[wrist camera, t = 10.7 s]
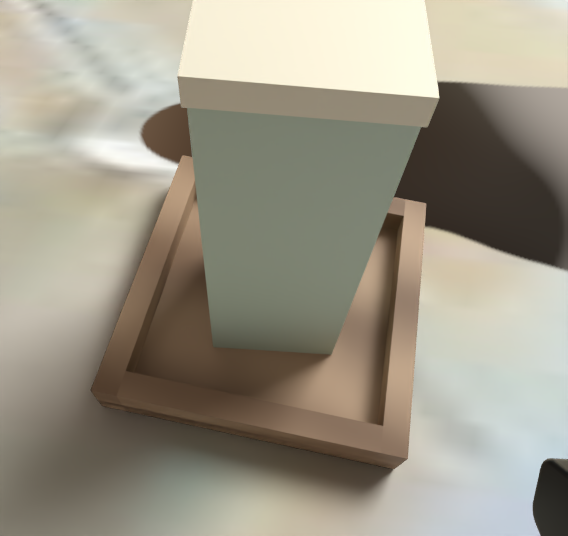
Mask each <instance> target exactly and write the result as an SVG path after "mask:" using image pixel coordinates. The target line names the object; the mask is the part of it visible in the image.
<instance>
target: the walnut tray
mask: <svg viewBox="0 0 568 536" xmlns="http://www.w3.org/2000/svg"><path fill="white" fill-rule="evenodd" d="M425 214H426V203H421V202H416V201H411V200H405V199H401V198H396V197H393V200H392V202H391V205H390V207H389V210H388V212H387V215H386V217H385V220H384V222H383V225H382V227H381V230H380V233H379V235H378V238H377V240H376V243H375V245H374V248H373V250H372V253H371V255H370V258H369V261H368V263H367V266H366V268H365V271H364V273H363V276H362V278H361V281H360V283H359V286H358V289H357V291H356V294H355V296H354V299H353V301H352V304H351V306H350V309H349V311H348V314H347V316H346V319H345V322H344V324H343V327H342V329H341V332H340V334H339V337H338V339H337V342H336V344H335V347H334V350H333V352H332V355H329V354H314V353H298V352H282V351H266V350H250V349H235V348H219V347H213V341H212V332H211V323H210V313H209V304H208V295H207V286H206V277H205V268H204V258H203V249H202V240H201V231H200V222H199V213H198V203H197V194H196V185H195V176H194V167H193V158H192V157H188V156H182V158H181V160H180V163H179V165H178V168H177V171H176V173H175V176H174V178H173V181H172V183H171V186H170V188H169V191H168V194H167V196H166V199H165V201H164V204H163V206H162V209H161V212H160V214H159V217H158V219H157V222H156V224H155V227H154V229H153V232H152V235H151V237H150V240H149V242H148V245H147V247H146V250H145V252H144V255H143V258H142V260H141V263H140V265H139V268H138V270H137V273H136V275H135V278H134V281H133V283H132V286H131V288H130V291H129V293H128V296H127V298H126V301H125V304H124V306H123V309H122V311H121V314H120V316H119V319H118V321H117V324H116V327H115V329H114V332H113V334H112V337H111V339H110V342H109V344H108V347H107V350H106V352H105V355H104V357H103V360H102V362H101V365H100V367H99V370H98V373H97V375H96V378H95V380H94V383H93V385H92V388H91V392H92V393H93V394H94V396H95V397H96V398H97V400H98V401H99V402H100V404H101V405H102V406H105V407H110V408H114V409H119V410H124V411H128V412H133V413H137V414H142V415H147V416H151V417H156V418H160V419H165V420H170V421H174V422H179V423H184V424H188V425H193V426H197V427H202V428H207V429H211V430H216V431H220V432H225V433H230V434H234V435H239V436H244V437H248V438H253V439H257V440H262V441H267V442H271V443H276V444H280V445H285V446H290V447H294V448H299V449H304V450H308V451H313V452H317V453H322V454H327V455H331V456H336V457H340V458H345V459H350V460H354V461H359V462H363V463H368V464H373V465H377V466H382V467H387V468H391V469H395V468H396V467H398V466H399V465H400V464H401V463H403V462H404V461H405V460H407V459H408V446H409V432H410V419H411V405H412V391H413V378H414V364H415V350H416V337H417V323H418V310H419V296H420V282H421V269H422V255H423V241H424V228H425Z"/></svg>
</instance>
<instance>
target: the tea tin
mask: <svg viewBox="0 0 568 536" xmlns="http://www.w3.org/2000/svg"><path fill="white" fill-rule="evenodd" d="M178 85H179V93H180V101H181V107H184V108H187V111H188V121H189V130H190V139H191V148H192V158H193V167H194V176H195V185H196V194H197V203H198V213H199V222H200V231H201V240H202V249H203V258H204V268H205V277H206V286H207V295H208V304H209V313H210V323H211V332H212V341H213V347H219V348H235V349H250V350H266V351H282V352H298V353H314V354H329V355H332V352H333V350H334V347H335V344H336V342H337V339H338V337H339V334H340V332H341V329H342V327H343V324H344V322H345V319H346V316H347V314H348V311H349V309H350V306H351V304H352V301H353V299H354V296H355V294H356V291H357V289H358V286H359V283H360V281H361V278H362V276H363V273H364V271H365V268H366V266H367V263H368V261H369V258H370V255H371V253H372V250H373V248H374V245H375V243H376V240H377V238H378V235H379V233H380V230H381V227H382V225H383V222H384V220H385V217H386V215H387V212H388V210H389V207H390V205H391V202H392V200H393V197H394V194H395V192H396V189H397V187H398V184H399V181H400V179H401V176H402V174H403V171H404V169H405V166H406V164H407V161H408V159H409V156H410V154H411V151H412V149H413V146H414V144H415V141H416V138H417V136H418V133H419V131H420V128H421V127H428V125H429V122H430V120H431V117H432V115H433V112H434V110H435V108H436V105H437V103H438V100H439V92H438V86H437V79H436V72H435V66H434V59H433V53H432V46H431V40H430V33H429V27H428V20H427V14H426V7H425V1H424V0H193V3H192V8H191V13H190V17H189V22H188V27H187V32H186V37H185V42H184V47H183V52H182V56H181V61H180V66H179V71H178Z"/></svg>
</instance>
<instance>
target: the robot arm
mask: <svg viewBox="0 0 568 536" xmlns="http://www.w3.org/2000/svg"><path fill="white" fill-rule="evenodd" d="M533 516H534V520H535V523H536V525H537V528H538V530H539V533H540V535H541V536H568V459H553V458H550V459H547V460H545V461H544V462H543V464H542V465H541V468H540V473H539V478H538V482H537V487H536V491H535V496H534V500H533Z"/></svg>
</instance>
